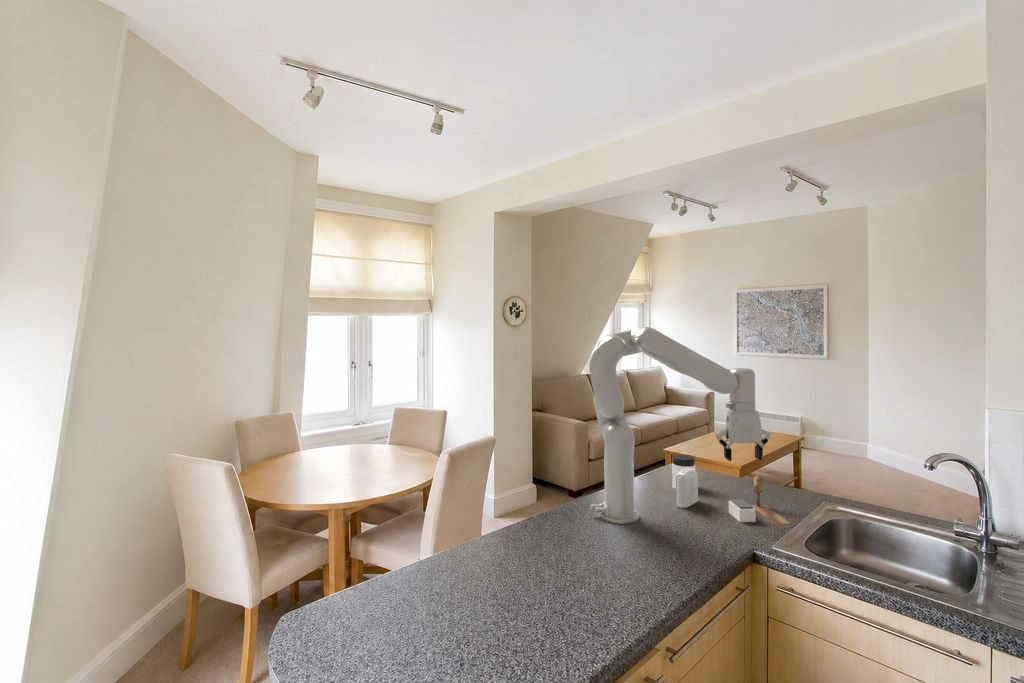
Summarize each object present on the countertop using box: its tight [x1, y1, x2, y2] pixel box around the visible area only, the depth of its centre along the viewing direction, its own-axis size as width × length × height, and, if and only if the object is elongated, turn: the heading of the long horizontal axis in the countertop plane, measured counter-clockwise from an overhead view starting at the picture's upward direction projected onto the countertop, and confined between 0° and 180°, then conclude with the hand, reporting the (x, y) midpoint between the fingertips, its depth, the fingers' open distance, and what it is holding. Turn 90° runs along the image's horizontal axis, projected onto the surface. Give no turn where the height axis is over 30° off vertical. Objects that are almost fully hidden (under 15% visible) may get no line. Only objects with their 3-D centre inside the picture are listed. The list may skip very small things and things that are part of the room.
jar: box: [671, 453, 696, 490], centre depth 187 cm, size 9×8×12 cm
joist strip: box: [750, 504, 792, 525], centre depth 159 cm, size 5×16×1 cm, turn 0°
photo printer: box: [675, 468, 699, 509], centre depth 170 cm, size 10×4×12 cm, turn 134°
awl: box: [753, 475, 764, 506], centre depth 166 cm, size 3×3×10 cm
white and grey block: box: [728, 499, 757, 523], centre depth 157 cm, size 5×8×5 cm, turn 179°
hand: (743, 459), depth 157 cm, fingers open, 9 cm apart
